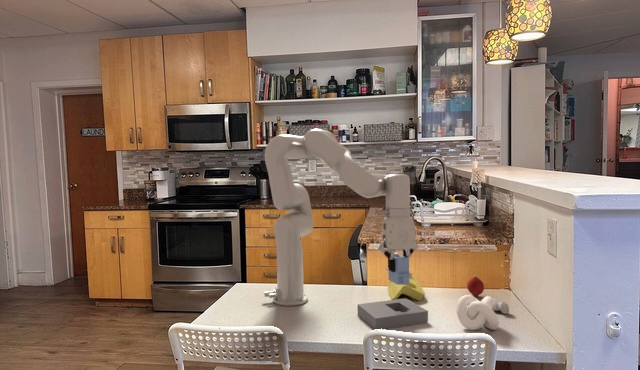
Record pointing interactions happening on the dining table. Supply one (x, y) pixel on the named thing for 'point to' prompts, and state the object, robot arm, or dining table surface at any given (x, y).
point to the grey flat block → (392, 313)
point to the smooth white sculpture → (500, 306)
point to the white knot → (477, 313)
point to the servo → (400, 270)
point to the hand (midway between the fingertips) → (398, 269)
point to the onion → (475, 286)
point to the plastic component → (406, 289)
